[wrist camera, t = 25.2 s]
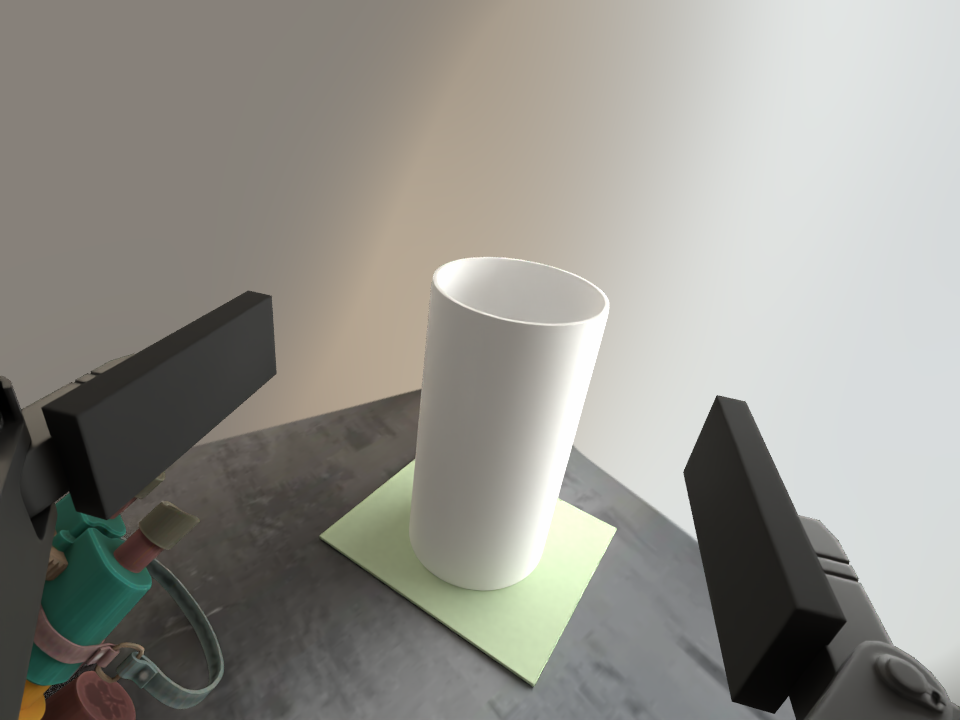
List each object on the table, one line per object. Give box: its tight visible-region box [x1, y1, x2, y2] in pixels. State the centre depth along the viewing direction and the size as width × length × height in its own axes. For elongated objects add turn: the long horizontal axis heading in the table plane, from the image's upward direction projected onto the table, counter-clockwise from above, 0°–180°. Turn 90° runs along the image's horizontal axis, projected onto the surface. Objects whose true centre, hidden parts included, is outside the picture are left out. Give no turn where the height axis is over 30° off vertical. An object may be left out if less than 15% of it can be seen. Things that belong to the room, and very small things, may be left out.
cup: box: [409, 257, 609, 591], centre depth 28 cm, size 8×8×16 cm
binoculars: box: [18, 471, 224, 720], centre depth 20 cm, size 9×9×10 cm
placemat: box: [320, 460, 617, 687], centre depth 31 cm, size 14×12×1 cm
